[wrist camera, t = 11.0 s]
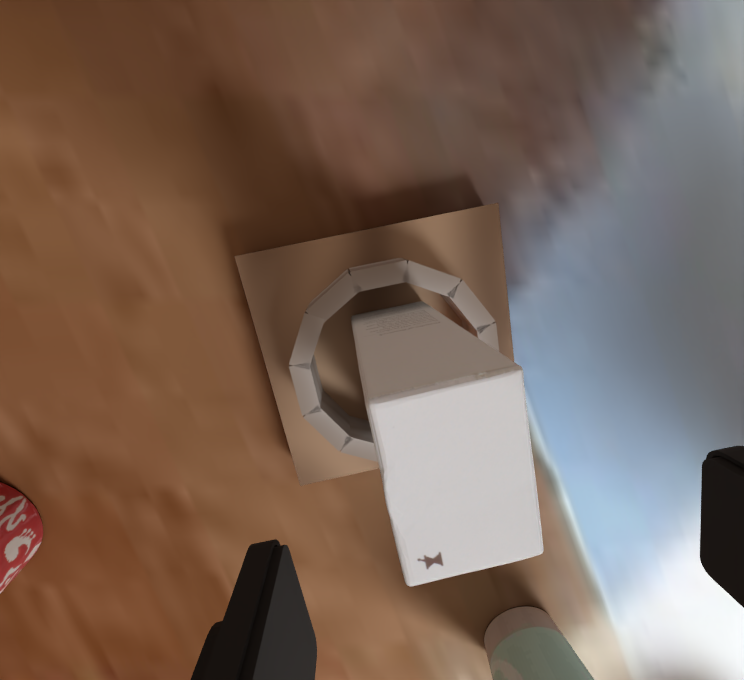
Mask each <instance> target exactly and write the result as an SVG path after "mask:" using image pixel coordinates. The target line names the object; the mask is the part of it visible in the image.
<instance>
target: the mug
mask: <svg viewBox="0 0 744 680" xmlns="http://www.w3.org/2000/svg"><path fill="white" fill-rule="evenodd" d="M42 537H43V525H42V521H41V518H40V515H39V513H38V511H37V510H36V508H35V506H34V505H33V504H32V503H31V502H30V501H29V500H28V499H27V498H26V497H25V496H24V495H23V494H22V493H20V492H19V491H17V490H16V489H14V488H12V487H10V486H8V485H6V484H4V483H1V482H0V593H1V592H2V591H3V590H4V589H5V588H6V586H7V585H8V584H9V583H10V582H11V581H12V580H13V579H14V578H15V577H16V576H17V575H18V573H19V572H20V570H21V569H22V568H23V567H24V566H25V565H26V564H27V563H28V562H29V560H30V559H31V558H32V557H33V555H34V554H35V553H36V551H37V550H38V548H39V546H40V544H41V541H42Z"/></svg>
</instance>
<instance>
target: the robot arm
mask: <svg viewBox="0 0 744 680" xmlns="http://www.w3.org/2000/svg"><path fill="white" fill-rule="evenodd" d="M700 560H701V563H702V565H703V567H704V569H705V570H706V572H707V573H708V575H709V576H710V577H711V578H712V579H713V580H714V581H716V582H717V583H718V584H719V585H720V586H721V587H722V588H723V589H724V590H725V591H726V592H727V593H729V594H730V595H731V596H732V597H733V598H734V599H735V600H736V601H737V602H738V603H739V604H740V605H742V606H743V607H744V446H734V447H729V448H724V449H719V450H714V451H711V452H709V453H708V455H707V458H706V460H704V462H703V464H702V492H701V536H700ZM316 659H317V645H316V637H315V633H314V630H313V627H312V623H311V620H310V617H309V614H308V610H307V607H306V604H305V600H304V597H303V594H302V590H301V587H300V584H299V581H298V577H297V574H296V571H295V567H294V564H293V561H292V558H291V554H290V551H289V548H288V546H287V545H282V546H280V543H279V541H278V540H270V541H265V542H260V543H255V544H251V545H250V546H249V548H248V550H247V553H246V556H245V559H244V562H243V565H242V568H241V570H240V573H239V576H238V579H237V582H236V585H235V588H234V591H233V593H232V596H231V599H230V602H229V605H228V608H227V611H226V613H225V616H224V619H223V621H220V622H217V623H215V624H214V625H213V626H212V628H211V629H210V631H209V633H208V635H207V638H206V640H205V643H204V646H203V648H202V651H201V654H200V656H199V659H198V662H197V664H196V667H195V670H194V672H193V675H192V678H191V680H315V670H316Z"/></svg>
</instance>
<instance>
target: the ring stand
mask: <svg viewBox="0 0 744 680" xmlns="http://www.w3.org/2000/svg"><path fill="white" fill-rule="evenodd" d="M234 257H235V260H236V264H237V267H238V271H239V274H240V278H241V281H242V285H243V288H244V291H245V295H246V298H247V302H248V305H249V309H250V312H251V316H252V319H253V323H254V326H255V330H256V333H257V337H258V340H259V344H260V347H261V351H262V354H263V358H264V361H265V365H266V368H267V372H268V375H269V378H270V382H271V385H272V389H273V392H274V396H275V399H276V403H277V406H278V410H279V413H280V417H281V420H282V424H283V427H284V431H285V434H286V438H287V441H288V445H289V448H290V452H291V455H292V459H293V462H294V465H295V469H296V472H297V476H298V479H299V483H300V486H301V485H306V484H311V483H315V482H320V481H324V480H329V479H333V478H338V477H342V476H347V475H352V474H356V473H361V472H365V471H370V470H374V469H379V463H378V459H377V455H376V450H375V446H374V441H373V437H372V432H371V428H370V423H369V419H368V415H367V410H366V405H365V399H364V393H363V388H362V382H361V377H360V372H359V365H358V359H357V353H356V347H355V340H354V334H353V329H352V322H351V317H352V316H353V315H357V314H362V313H367V312H372V311H376V310H381V309H386V308H391V307H396V306H401V305H406V304H410V303H414V302H420V301H423V302H425V303H426V304H428V305H429V306H431V307H432V308H434V309H435V310H437V311H438V312H440V313H441V314H443V315H444V316H446V317H447V318H449V319H450V320H452V321H453V322H455V323H456V324H458V325H459V326H460V327H462V328H463V329H465V330H466V331H468V332H470V333H471V334H472V335H474V336H476V337H477V338H479V339H480V340H482V341H483V342H484V343H486V344H488V345H489V346H491V347H492V348H494V349H495V350H497V351H498V352H500V353H501V354H503V355H504V356H506V357H507V358H509V359H510V360H511V361H513V362H514V356H513V346H512V336H511V326H510V316H509V306H508V296H507V286H506V276H505V266H504V256H503V246H502V236H501V225H500V215H499V205H498V203H495V204H490V205H485V206H480V207H475V208H470V209H465V210H460V211H455V212H450V213H445V214H440V215H435V216H430V217H426V218H421V219H416V220H411V221H406V222H401V223H396V224H391V225H386V226H381V227H376V228H371V229H366V230H361V231H357V232H352V233H347V234H342V235H337V236H332V237H327V238H322V239H317V240H312V241H307V242H302V243H297V244H292V245H288V246H283V247H278V248H273V249H268V250H263V251H258V252H253V253H248V254H243V255H238V256H234Z"/></svg>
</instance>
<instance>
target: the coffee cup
mask: <svg viewBox="0 0 744 680" xmlns="http://www.w3.org/2000/svg"><path fill="white" fill-rule="evenodd" d="M484 644H485V648H486V652H487V657H488V661H489V665H490V669H491V673H492V677H493V680H594V679H593V677H592V676H591V674H590V673H589V672H588V670H587V669H586V667H585V666H584V664H583V663H582V662H581V660H580V659H579V657H578V656H577V654H576V653H575V651H574V650H573V649H572V647H571V646H570V644H569V643H568V641H567V640H566V638H565V637H564V636H563V634H562V633H561V631H560V630H559V629H558V627H557V626H556V624H555V623H554V621H553V620H552V619H551V617H550V616H549V615H548V614H547V613H546V612H544V611H543V610H541V609H538V608H535V607H528V606H527V607H517V608H513V609H510V610H507V611H505V612H503V613H502V614H500V615H499V616H497V617H496V618H495V619H494V620H493V621H492V622H491V623H490V625H489V626H488V628H487V630H486V632H485V636H484Z"/></svg>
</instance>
